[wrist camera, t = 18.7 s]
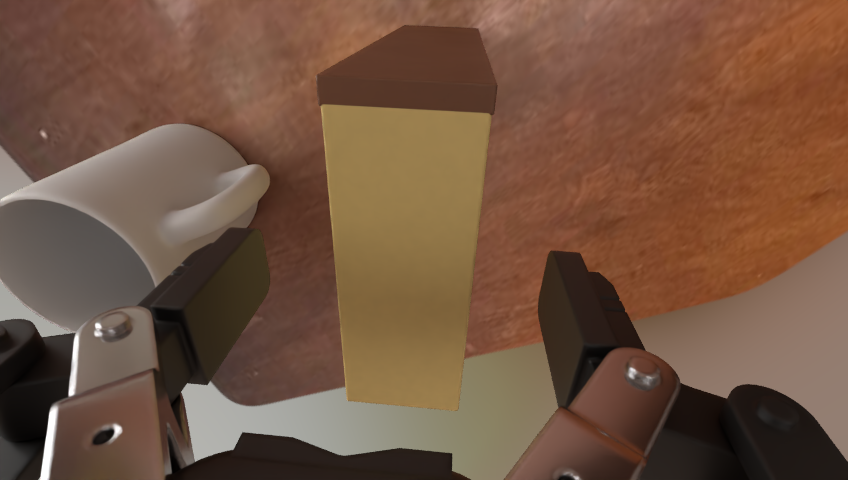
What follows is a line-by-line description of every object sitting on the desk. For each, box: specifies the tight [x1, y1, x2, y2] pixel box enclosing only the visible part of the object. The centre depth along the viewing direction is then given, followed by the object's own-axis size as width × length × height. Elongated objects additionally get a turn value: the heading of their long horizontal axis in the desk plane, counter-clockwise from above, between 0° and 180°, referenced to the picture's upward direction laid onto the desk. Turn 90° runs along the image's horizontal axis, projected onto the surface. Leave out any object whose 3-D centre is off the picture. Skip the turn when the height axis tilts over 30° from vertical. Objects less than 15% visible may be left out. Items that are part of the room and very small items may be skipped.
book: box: [316, 25, 497, 411], centre depth 19 cm, size 16×4×11 cm
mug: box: [0, 124, 270, 333], centre depth 24 cm, size 12×8×11 cm
